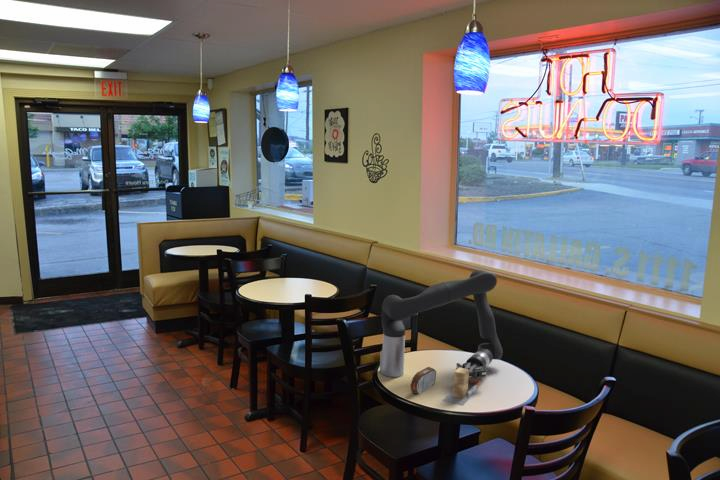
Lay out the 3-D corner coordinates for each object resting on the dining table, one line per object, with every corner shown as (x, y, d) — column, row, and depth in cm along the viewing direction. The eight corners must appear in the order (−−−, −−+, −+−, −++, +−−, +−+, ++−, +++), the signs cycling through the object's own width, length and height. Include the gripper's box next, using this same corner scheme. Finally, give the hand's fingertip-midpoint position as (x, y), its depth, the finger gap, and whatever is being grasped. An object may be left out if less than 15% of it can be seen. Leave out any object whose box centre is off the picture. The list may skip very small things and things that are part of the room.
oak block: (453, 396, 209) (454, 371, 208) (457, 391, 214) (459, 367, 212) (463, 398, 207) (464, 373, 206) (467, 394, 212) (469, 369, 210)
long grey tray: (442, 401, 206) (442, 396, 205) (463, 380, 225) (463, 376, 225) (462, 406, 202) (463, 401, 201) (482, 385, 221) (482, 380, 221)
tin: (430, 383, 222) (431, 363, 220) (437, 385, 220) (438, 365, 218) (409, 395, 210) (410, 374, 209) (416, 397, 208) (417, 377, 207)
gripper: (463, 350, 229) (447, 363, 214) (494, 357, 222) (480, 371, 208) (462, 367, 230) (446, 382, 215) (492, 375, 224) (479, 390, 209)
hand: (463, 376), depth 212 cm, fingers closed
